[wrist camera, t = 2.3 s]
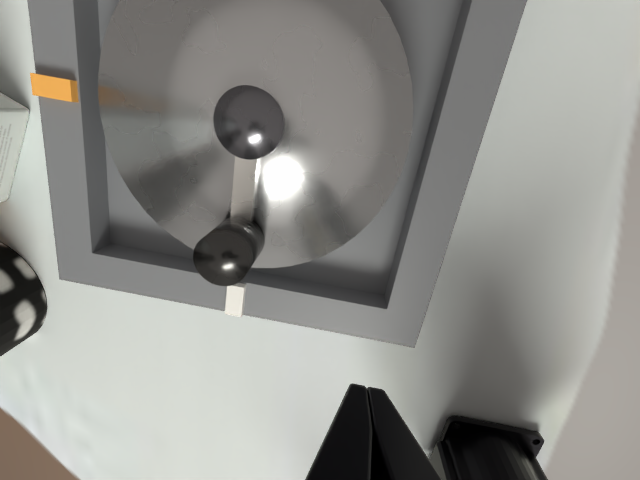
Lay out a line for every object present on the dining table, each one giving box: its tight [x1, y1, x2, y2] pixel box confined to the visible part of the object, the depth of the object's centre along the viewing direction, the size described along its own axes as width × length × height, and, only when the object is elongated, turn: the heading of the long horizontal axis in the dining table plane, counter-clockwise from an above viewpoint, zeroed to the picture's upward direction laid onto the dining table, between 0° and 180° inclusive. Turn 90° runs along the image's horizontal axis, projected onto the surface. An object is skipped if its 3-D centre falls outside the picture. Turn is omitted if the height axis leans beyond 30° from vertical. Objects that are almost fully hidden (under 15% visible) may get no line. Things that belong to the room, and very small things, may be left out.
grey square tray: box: [28, 0, 527, 348], centre depth 16 cm, size 20×20×3 cm
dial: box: [98, 0, 413, 286], centre depth 14 cm, size 14×14×4 cm
